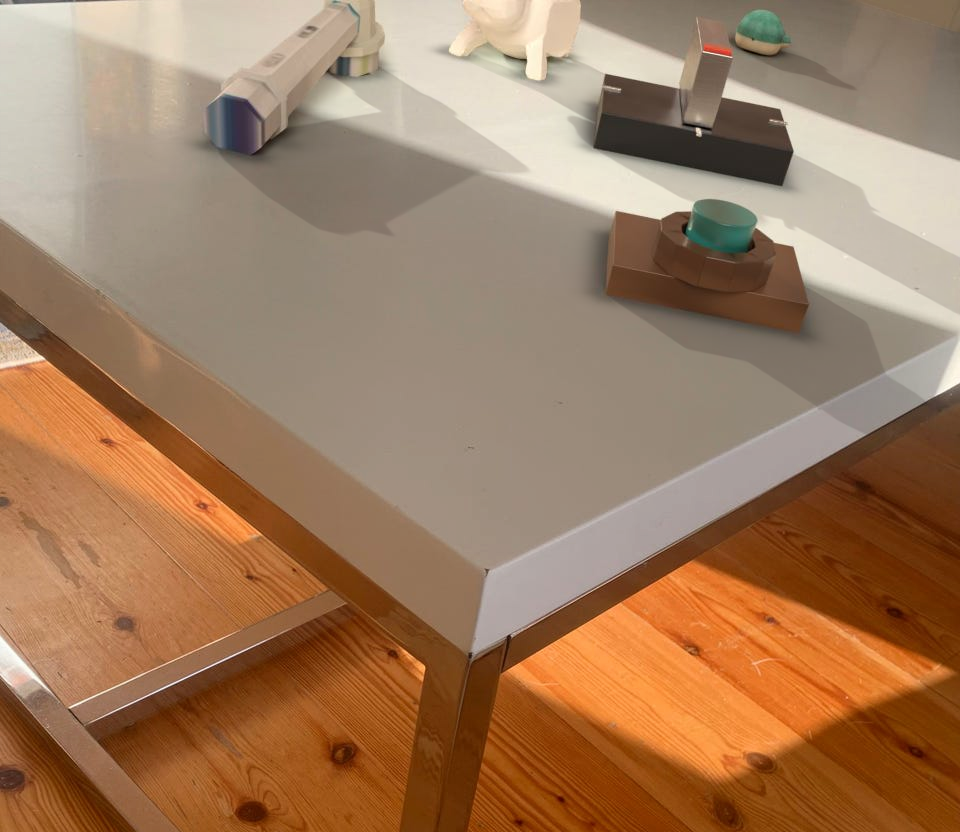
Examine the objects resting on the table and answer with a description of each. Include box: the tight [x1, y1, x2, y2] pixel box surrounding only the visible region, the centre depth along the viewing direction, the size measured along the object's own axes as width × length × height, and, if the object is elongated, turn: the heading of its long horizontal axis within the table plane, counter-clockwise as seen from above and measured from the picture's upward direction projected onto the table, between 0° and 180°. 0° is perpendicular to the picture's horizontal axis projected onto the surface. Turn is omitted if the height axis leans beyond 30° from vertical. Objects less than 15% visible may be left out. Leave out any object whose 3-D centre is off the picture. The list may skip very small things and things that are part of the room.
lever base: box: [593, 73, 795, 187], centre depth 85 cm, size 14×14×3 cm
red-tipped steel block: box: [678, 16, 734, 129], centre depth 83 cm, size 10×2×5 cm, turn 173°
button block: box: [605, 210, 810, 334], centre depth 64 cm, size 11×9×4 cm
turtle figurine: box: [734, 9, 792, 56], centre depth 114 cm, size 6×7×4 cm
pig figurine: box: [448, 0, 582, 81], centre depth 93 cm, size 9×8×15 cm
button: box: [685, 198, 758, 253], centre depth 62 cm, size 4×4×2 cm
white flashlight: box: [203, 0, 386, 156], centre depth 78 cm, size 5×7×25 cm
